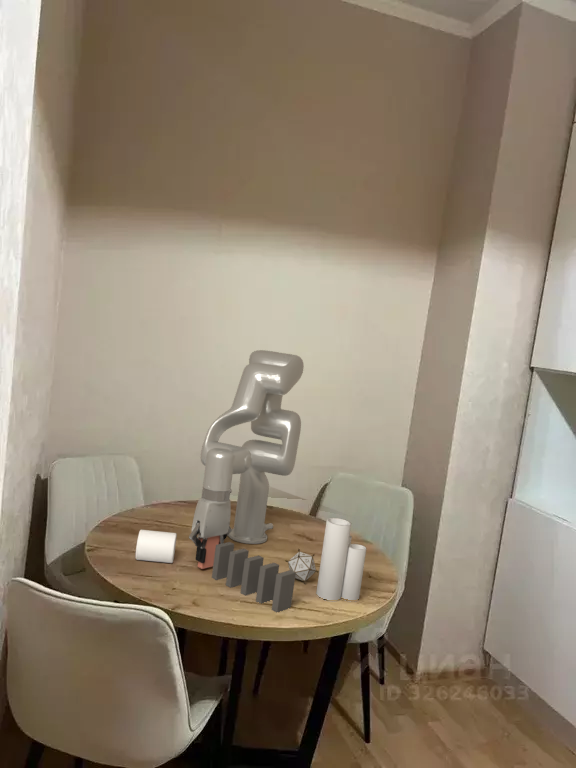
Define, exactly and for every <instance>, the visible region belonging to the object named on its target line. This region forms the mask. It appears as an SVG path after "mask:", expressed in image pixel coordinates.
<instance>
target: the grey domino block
mask: <svg viewBox="0 0 576 768" xmlns="http://www.w3.org/2000/svg"><path fill="white" fill-rule="evenodd" d="M295 575H296V573H295V572H293V571H291V570H286V571H283V572H280V573H279V572H278V574H277V575H276V582H275V589H274V597H273V600H272V605H271V611H273V612H275V613H277V612H278V613H280V611H281V612H284V611H286V610H289V609H291V608H292V603H293V602H292V601H293V595H294V587H295V583H296V582H295V581H296V578H295ZM290 607H291V608H290ZM288 608H289V609H288ZM283 610H284V611H283Z"/></svg>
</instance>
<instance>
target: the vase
mask: <svg viewBox="0 0 576 768" xmlns="http://www.w3.org/2000/svg"><path fill="white" fill-rule="evenodd" d="M351 528H352V522H351V521H349V520H347V519H343V518H339V517H328V518H327V519H326V523H325V530H324V534H323V535H324V537H323V542H322V550H321V557H320V564H319V570H318V571H319V572H318V578H317V579H318V580H317V585H316V593H315V595H316V594H317V595H318V596H319V597H321V598H323V599H327V600H338V599H340V600H341V597H342V598H344V599H348V600H357V599H359V600H360V595H361V587H362V582H363V581H362V580H363V574H364V569H365V562H366V561H365V560H366V553H367V547H366V546H365V545H362V544H358V543H352V537H353V536H352V535H351ZM317 595H316V596H317ZM318 596H317V597H318ZM319 597H318V598H319ZM321 598H320V599H321ZM323 599H322V600H323ZM338 601H339V600H338Z"/></svg>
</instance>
